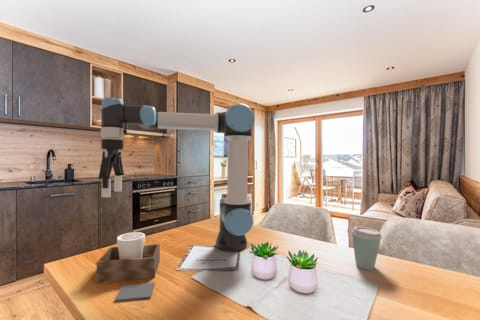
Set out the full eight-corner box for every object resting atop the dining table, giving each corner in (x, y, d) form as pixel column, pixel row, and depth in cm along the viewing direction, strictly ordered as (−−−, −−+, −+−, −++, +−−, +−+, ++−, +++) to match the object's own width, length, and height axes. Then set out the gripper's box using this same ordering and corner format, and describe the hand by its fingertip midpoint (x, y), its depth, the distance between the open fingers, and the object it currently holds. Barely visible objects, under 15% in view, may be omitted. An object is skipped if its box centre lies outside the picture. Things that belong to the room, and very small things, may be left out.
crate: (159, 260, 97) (159, 244, 97) (154, 277, 84) (154, 258, 84) (110, 264, 93) (110, 246, 93) (96, 282, 80) (96, 262, 80)
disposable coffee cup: (366, 259, 101) (367, 224, 101) (388, 271, 90) (388, 232, 90) (345, 261, 98) (345, 225, 98) (364, 274, 88) (365, 234, 88)
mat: (154, 284, 80) (154, 282, 80) (150, 298, 72) (150, 296, 72) (122, 287, 78) (122, 285, 78) (114, 302, 70) (114, 299, 70)
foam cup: (134, 278, 83) (134, 241, 83) (111, 275, 85) (111, 239, 85) (149, 266, 92) (149, 233, 92) (128, 263, 94) (128, 231, 94)
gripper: (112, 140, 103) (112, 189, 103) (87, 136, 79) (87, 200, 79) (131, 141, 104) (131, 189, 105) (112, 137, 80) (112, 199, 80)
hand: (112, 194), depth 92 cm, fingers open, 13 cm apart
